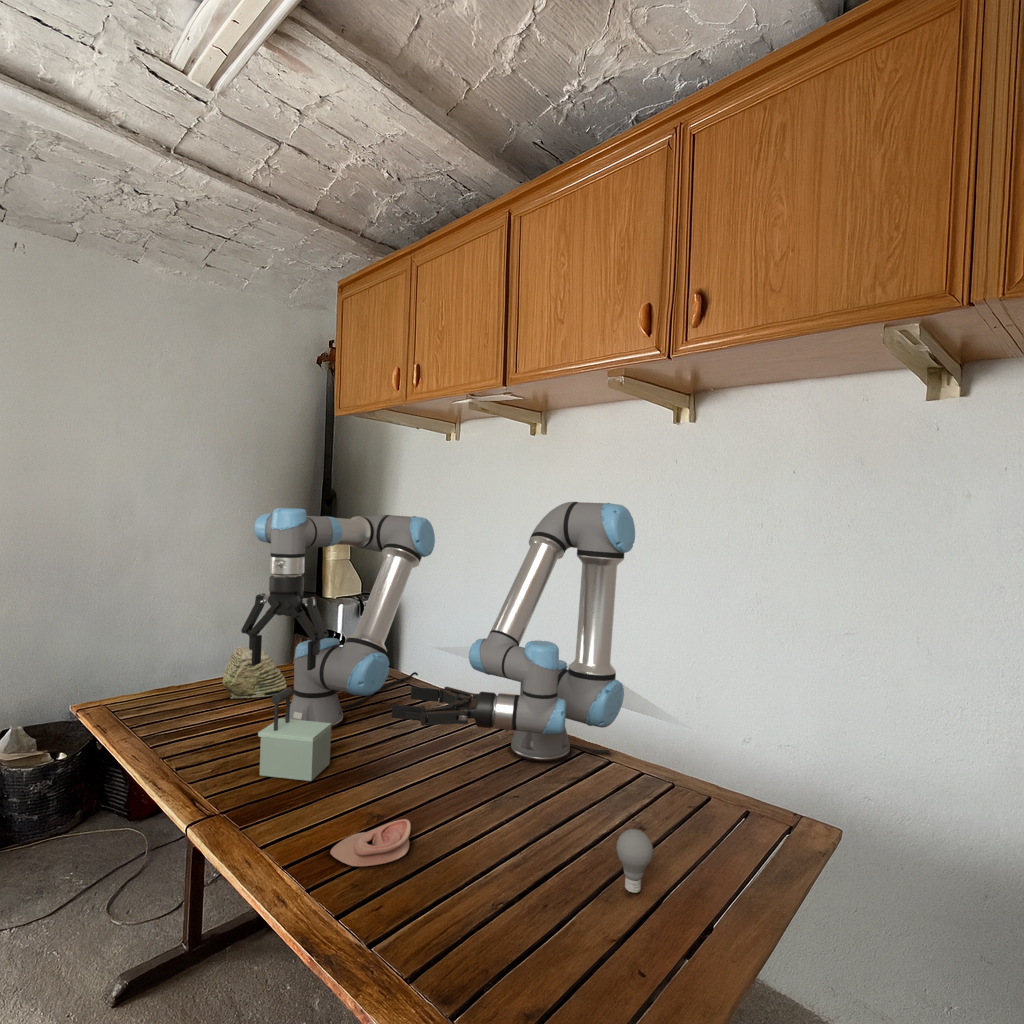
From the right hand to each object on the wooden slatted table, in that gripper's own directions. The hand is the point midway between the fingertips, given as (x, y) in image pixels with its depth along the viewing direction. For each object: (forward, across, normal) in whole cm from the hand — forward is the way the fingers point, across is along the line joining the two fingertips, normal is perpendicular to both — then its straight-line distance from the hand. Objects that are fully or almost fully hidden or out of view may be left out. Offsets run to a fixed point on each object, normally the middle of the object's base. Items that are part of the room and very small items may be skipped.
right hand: (402, 701), depth 142 cm
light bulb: (-51, -30, -18) cm, 61 cm away
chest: (+25, 0, -18) cm, 31 cm away
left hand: (+29, 0, +5) cm, 29 cm away
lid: (+25, 0, -9) cm, 27 cm away
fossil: (+62, +47, -18) cm, 80 cm away
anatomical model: (-4, -28, -18) cm, 34 cm away
